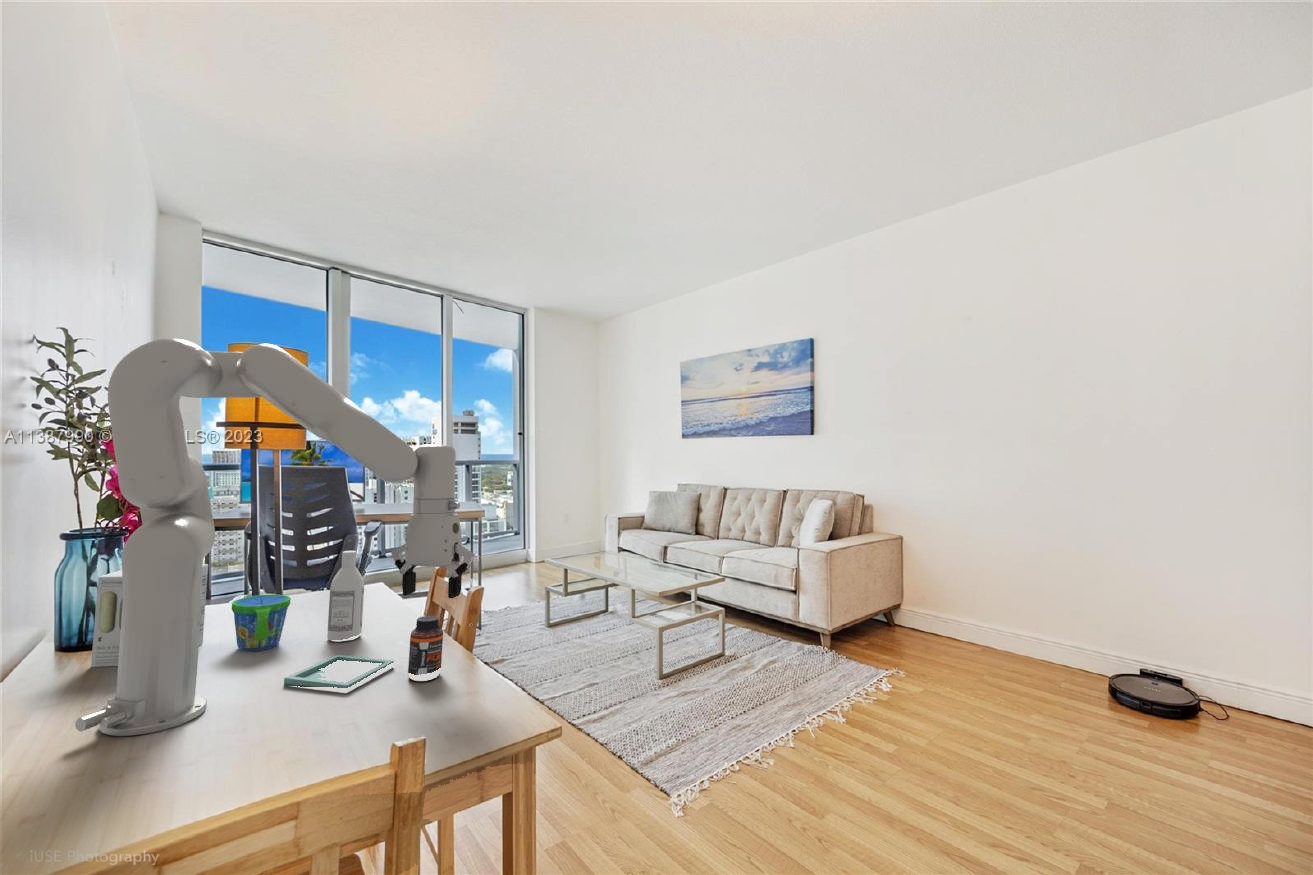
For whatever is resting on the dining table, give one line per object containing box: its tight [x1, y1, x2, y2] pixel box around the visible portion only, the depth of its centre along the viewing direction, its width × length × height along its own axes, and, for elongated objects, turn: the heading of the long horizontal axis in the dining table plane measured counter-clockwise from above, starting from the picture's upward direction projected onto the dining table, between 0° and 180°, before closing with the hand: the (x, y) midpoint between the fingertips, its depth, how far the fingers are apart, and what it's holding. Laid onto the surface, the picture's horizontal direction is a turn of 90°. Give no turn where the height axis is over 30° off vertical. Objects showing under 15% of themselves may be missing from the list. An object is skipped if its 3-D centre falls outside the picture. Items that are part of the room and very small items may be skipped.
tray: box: [283, 654, 395, 688], centre depth 107 cm, size 13×13×2 cm
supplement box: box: [90, 563, 209, 668], centre depth 116 cm, size 13×13×18 cm
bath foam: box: [327, 550, 365, 641], centre depth 130 cm, size 7×7×20 cm
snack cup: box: [231, 594, 292, 652], centre depth 123 cm, size 16×10×10 cm
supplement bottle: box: [407, 615, 444, 675], centre depth 108 cm, size 6×6×11 cm
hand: (431, 595), depth 109 cm, fingers open, 9 cm apart
